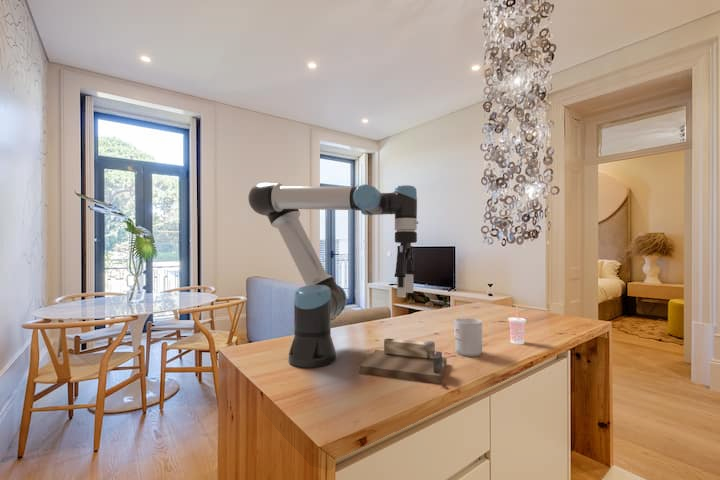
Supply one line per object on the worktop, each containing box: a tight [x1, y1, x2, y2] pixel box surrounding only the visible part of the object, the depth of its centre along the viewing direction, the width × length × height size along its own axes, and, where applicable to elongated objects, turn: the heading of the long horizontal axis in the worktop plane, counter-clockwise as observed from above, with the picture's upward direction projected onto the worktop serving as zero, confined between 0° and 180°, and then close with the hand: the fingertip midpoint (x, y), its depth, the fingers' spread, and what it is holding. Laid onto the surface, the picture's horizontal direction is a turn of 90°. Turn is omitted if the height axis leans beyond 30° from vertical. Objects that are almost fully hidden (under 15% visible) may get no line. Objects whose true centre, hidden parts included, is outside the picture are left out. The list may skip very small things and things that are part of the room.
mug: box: [453, 317, 483, 358], centre depth 115 cm, size 12×9×11 cm
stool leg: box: [383, 337, 436, 359], centre depth 105 cm, size 16×3×4 cm, turn 70°
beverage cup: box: [507, 305, 527, 345], centre depth 127 cm, size 6×6×14 cm
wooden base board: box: [358, 349, 448, 384], centre depth 99 cm, size 23×16×6 cm
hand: (405, 294), depth 113 cm, fingers open, 12 cm apart
